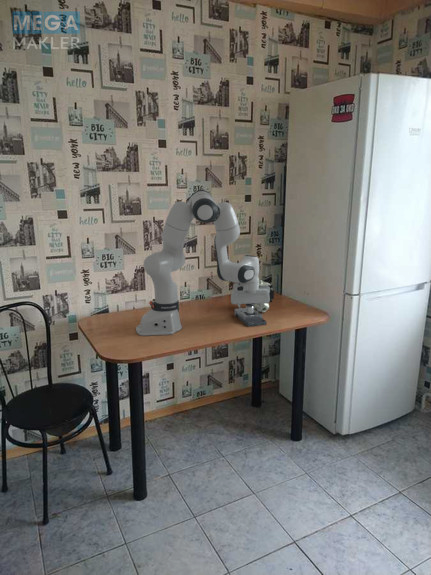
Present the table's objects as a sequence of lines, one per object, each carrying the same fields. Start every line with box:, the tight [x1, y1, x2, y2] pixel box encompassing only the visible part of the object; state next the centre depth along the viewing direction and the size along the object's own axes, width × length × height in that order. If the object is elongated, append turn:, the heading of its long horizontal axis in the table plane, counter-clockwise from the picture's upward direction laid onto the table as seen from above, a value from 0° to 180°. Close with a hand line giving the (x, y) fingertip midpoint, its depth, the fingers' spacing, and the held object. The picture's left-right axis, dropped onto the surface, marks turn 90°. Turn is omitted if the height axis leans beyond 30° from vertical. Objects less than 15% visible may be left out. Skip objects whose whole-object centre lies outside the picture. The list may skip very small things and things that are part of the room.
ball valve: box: [254, 279, 275, 313], centre depth 232 cm, size 18×8×18 cm, turn 22°
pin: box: [245, 304, 255, 315], centre depth 218 cm, size 5×5×9 cm
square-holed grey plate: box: [234, 307, 267, 328], centre depth 219 cm, size 10×20×4 cm, turn 17°
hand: (250, 311), depth 218 cm, fingers open, 8 cm apart
